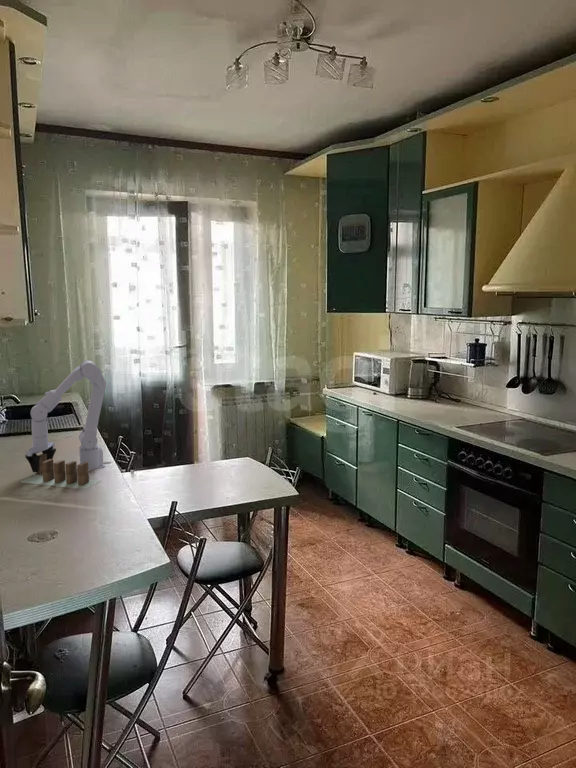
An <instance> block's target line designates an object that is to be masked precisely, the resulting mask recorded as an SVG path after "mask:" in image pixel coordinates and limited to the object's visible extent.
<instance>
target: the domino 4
mask: <svg viewBox="0 0 576 768" xmlns="http://www.w3.org/2000/svg"><path fill="white" fill-rule="evenodd" d="M77 465H78V464H77V460H76V461H75V460H71V461H70V462H67V463H65V474H66V484H72V483H74V482H76V481H77V478H78V468H77Z"/></svg>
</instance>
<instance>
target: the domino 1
mask: <svg viewBox="0 0 576 768" xmlns="http://www.w3.org/2000/svg"><path fill="white" fill-rule="evenodd" d="M39 455H40V456H41V457H40V460H39V471H38V472H37V473H36V475H43V470H42V462H44V461H46V460H47V454H43V453H42V454H39Z"/></svg>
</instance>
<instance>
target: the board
mask: <svg viewBox="0 0 576 768" xmlns="http://www.w3.org/2000/svg"><path fill="white" fill-rule="evenodd" d="M99 482H101V480H99V479H90V478H89V482H88V483H86V484H84V485H82V486H81V485H78V477H77V481H76V482H74V483H72V484H66V480H64V481H62V482H60V483H55V478H54V479H53V480H50V481H48V482H43V474H35V475H33V476H31V477H28V478H26V479H24V480H21V481H20V483H24V484H32V485H43V486H50V487H51V486H52V487H63V488H72V489H84V490H86V489H88V488H89V487H92V486H93V485H95V484H97V483H99Z"/></svg>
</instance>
